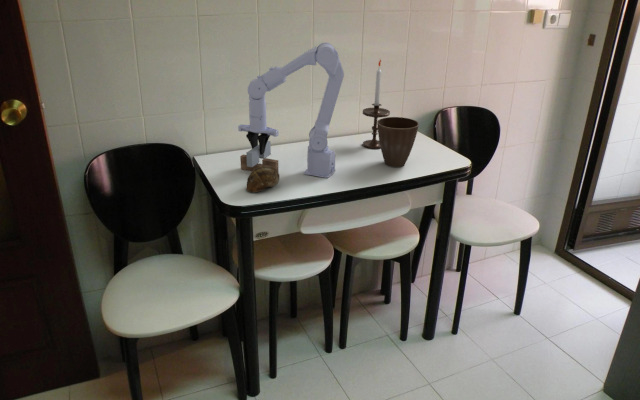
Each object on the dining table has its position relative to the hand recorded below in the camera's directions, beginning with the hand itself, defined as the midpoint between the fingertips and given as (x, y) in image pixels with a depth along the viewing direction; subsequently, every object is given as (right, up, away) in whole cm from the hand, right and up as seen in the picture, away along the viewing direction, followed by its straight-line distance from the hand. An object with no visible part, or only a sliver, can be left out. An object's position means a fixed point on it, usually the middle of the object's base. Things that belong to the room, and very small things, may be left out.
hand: (258, 153), depth 179 cm
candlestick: (+44, +6, +31) cm, 54 cm away
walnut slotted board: (0, -6, +3) cm, 7 cm away
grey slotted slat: (0, -2, +1) cm, 3 cm away
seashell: (+2, -13, -10) cm, 17 cm away
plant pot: (+49, -3, +13) cm, 51 cm away
